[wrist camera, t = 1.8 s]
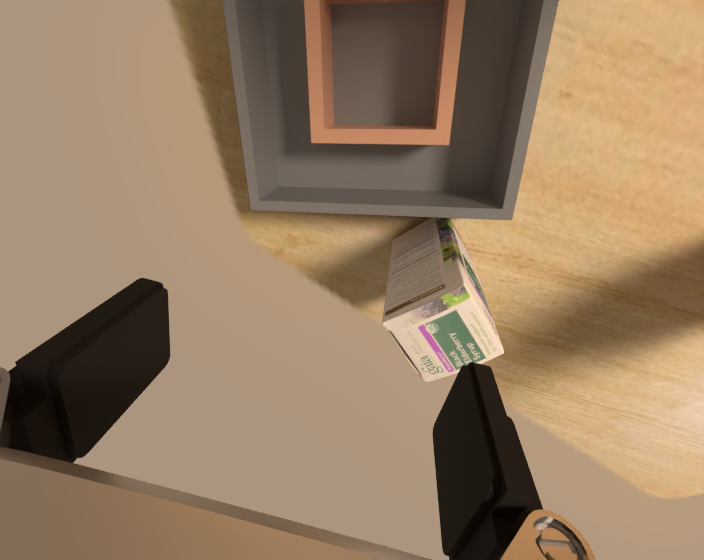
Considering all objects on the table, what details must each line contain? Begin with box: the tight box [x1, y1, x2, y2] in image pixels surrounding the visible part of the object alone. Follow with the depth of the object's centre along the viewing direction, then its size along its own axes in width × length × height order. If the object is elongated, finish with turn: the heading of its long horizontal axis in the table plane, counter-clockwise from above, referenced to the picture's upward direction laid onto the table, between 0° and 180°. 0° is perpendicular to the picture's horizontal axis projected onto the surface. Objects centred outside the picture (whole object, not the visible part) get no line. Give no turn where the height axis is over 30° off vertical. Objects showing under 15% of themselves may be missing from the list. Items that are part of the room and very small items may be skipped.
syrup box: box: [382, 217, 504, 382], centre depth 28 cm, size 6×6×14 cm
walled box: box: [222, 0, 559, 220], centre depth 25 cm, size 20×20×6 cm
